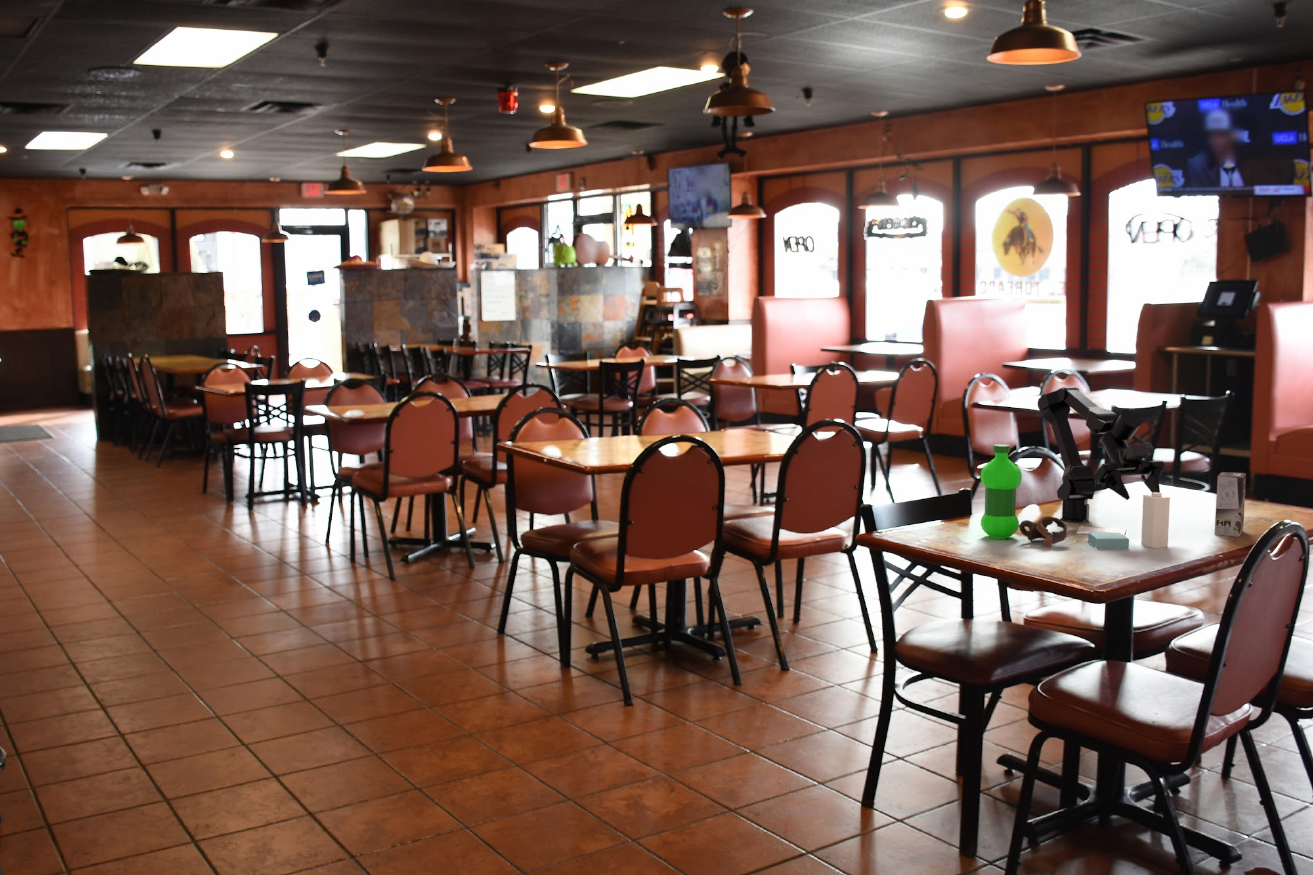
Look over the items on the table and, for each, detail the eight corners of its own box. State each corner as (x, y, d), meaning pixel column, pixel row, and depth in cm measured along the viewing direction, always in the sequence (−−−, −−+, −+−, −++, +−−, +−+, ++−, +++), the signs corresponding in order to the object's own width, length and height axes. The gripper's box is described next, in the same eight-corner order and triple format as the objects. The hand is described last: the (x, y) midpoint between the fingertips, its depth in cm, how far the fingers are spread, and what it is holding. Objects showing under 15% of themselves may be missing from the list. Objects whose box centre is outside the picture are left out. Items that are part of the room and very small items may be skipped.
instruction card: (1076, 533, 323) (1076, 532, 323) (1079, 527, 331) (1080, 525, 331) (1123, 537, 318) (1123, 535, 318) (1126, 530, 326) (1126, 529, 326)
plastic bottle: (1019, 542, 313) (1021, 448, 310) (978, 540, 316) (980, 447, 313) (1020, 534, 322) (1022, 443, 319) (980, 532, 326) (982, 442, 323)
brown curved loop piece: (1060, 541, 316) (1070, 518, 311) (1059, 563, 309) (1070, 540, 304) (1015, 528, 318) (1024, 505, 313) (1013, 550, 310) (1023, 527, 305)
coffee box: (1240, 537, 316) (1243, 477, 314) (1213, 534, 319) (1216, 475, 317) (1244, 531, 323) (1247, 472, 321) (1218, 528, 327) (1221, 471, 325)
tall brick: (1141, 544, 309) (1143, 492, 307) (1156, 543, 310) (1158, 491, 308) (1152, 548, 304) (1154, 495, 302) (1167, 546, 305) (1169, 494, 304)
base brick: (1088, 543, 312) (1088, 532, 312) (1119, 543, 311) (1119, 532, 311) (1096, 550, 304) (1096, 538, 304) (1128, 550, 304) (1129, 539, 303)
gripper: (1101, 433, 311) (1127, 481, 302) (1163, 430, 316) (1189, 477, 306) (1083, 459, 320) (1107, 506, 310) (1143, 456, 324) (1168, 502, 315)
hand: (1143, 497), depth 310 cm, fingers open, 9 cm apart
